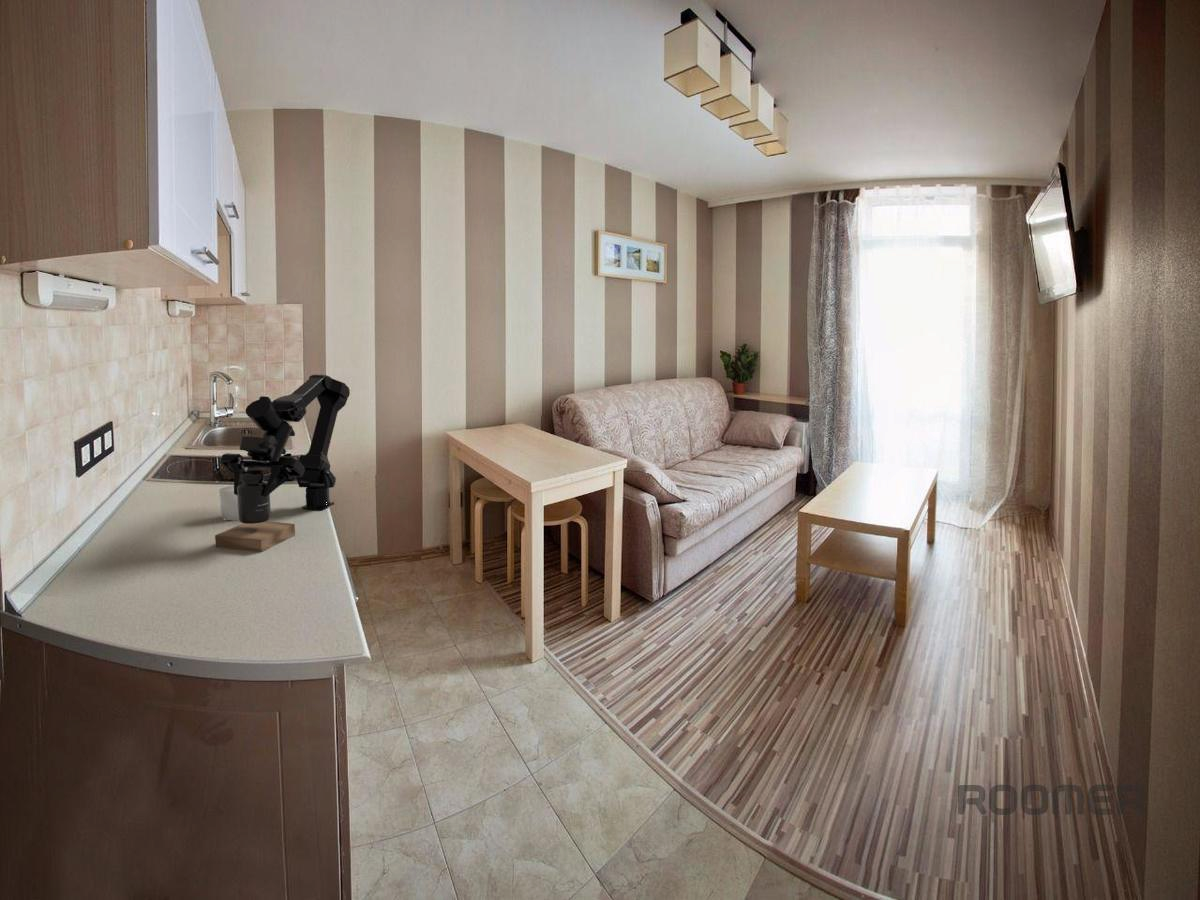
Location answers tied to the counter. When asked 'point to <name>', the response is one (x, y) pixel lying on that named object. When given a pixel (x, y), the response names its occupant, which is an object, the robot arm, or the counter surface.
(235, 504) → the white rounded block
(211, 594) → the counter surface
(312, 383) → the robot arm
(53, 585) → the counter surface
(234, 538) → the walnut plinth
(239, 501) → the supplement bottle
